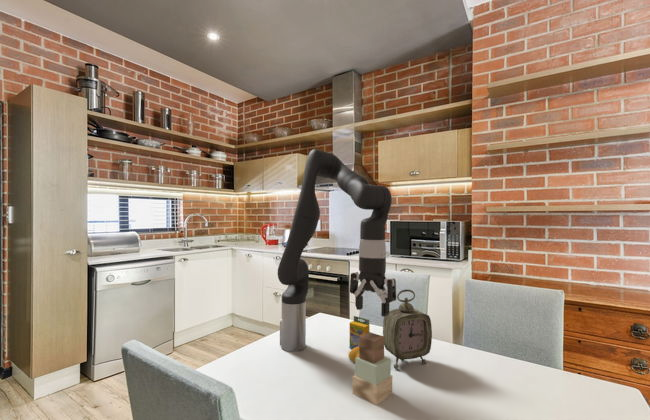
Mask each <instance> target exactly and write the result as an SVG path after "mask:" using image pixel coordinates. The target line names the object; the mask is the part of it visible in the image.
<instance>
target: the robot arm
mask: <svg viewBox="0 0 650 420" xmlns="http://www.w3.org/2000/svg"><path fill="white" fill-rule="evenodd" d="M304 165H305V166H304V171H303V177H302V182H301V183H302V184H301V188H300V193H299V196H298V200H297V204H296V207H295V211H294V215H293V219H292V223H291V227H290V229H289V230H290V231H289V234H288V238H287V241H286V246H285V247H284V250H283V253H282V254H281V255H282V256H281V259H280V261H279V264H278V267H277V278H278V280H279V282H280V283H281V284H282V285H283V286H287V287H286V289H285V290H284V291H283V293H282V294H281V319H280V321H279V346H280V347H281V349H282V350H284V351H287V352H297V351H301V350H304V349H305V348H306V345H307V344H306V336H307V335H306V333H307V331H306V330H307V329H306V327H307V325H306V318H307V317H306V316H307V314H306V313H307V311H306V308H307V307H306V306H307V305H306V304H307V303H306V302H307V301H306V299H307V295H308V292H309V279H310V275H309V274H310V272H309V271H310V270H309V266H308V263H307V262H306V261H305V260H304V259H302V258H301V257H302V254H303V252H304V250H305V247H306V246H307V245H308V243H310V241H311V239H312V238H313V236H314V235H315V233H316V230H317V227H318V224H319V219H320V216H321V209H320V205H319V202H318V199H317V195H316V181H317V179H318V177H320V178H324V179H330V180H334V181H336V183H337V186H338V187H339V189H340V190H341V191H343V192H344V193H345V194H346V195H348V196H349V197H350V198H351V200H352V202H353V203H354V205H355V206H356V207H358V208H360V209H362V210H366V211H367V210H369V211H370V210H372V212H371V215H370V217H369V216H368V217H366V218H363V219H362V220H361V221H360V225H359V226H360V230H359V234H360V235H359V239H360V240H359V247H358V248H359V249H358V271H359V272H358V271H357V272H352V273H350V278H349V279H350V281H349V282H350V283H349V293H350V294H353V295H354V296H355V301H354V302H355V303H354V305H355V307H356V310H358V311H361V310H362V309H363V308H364V293H365V292H371V293H376V295H377V296H378V297H379V298H380V300H381V309H380V311H381V312H380V313H381V317H382V318H384V317H385V316H387V315H388V314H389V311H390V303H392V302H395V301H396V300H397V286H396V278H387V277H386V272H387V268H386V267H387V265H386V264H387V246H386V224H387V221H388V216H389V214H390V210H391V206H392V202H393V199H392V197H393V196H392V194H391V191H390V189H389V188H388V187H387V186H386V185H379V184H378V185H377V184H370V182H369V181H368V179H366V178H365V176H363V175H361V174H359V173H357V172H356V171H354V170H352V169H350V168H349V167H348V166H347V165H345V164H344V163H343V161H342V160H341V159H340V158H339V157H338V156H336V155H335V154H334V153H331V152H328V151H324V150H321V149H318V148H317V149H316V148H314V149H312V150H310V151H309V153H308V155H307V157H306V161H305V164H304ZM359 282H360V284H359Z"/></svg>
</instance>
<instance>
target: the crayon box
mask: <svg viewBox="0 0 650 420" xmlns="http://www.w3.org/2000/svg"><path fill="white" fill-rule="evenodd" d="M361 320H362V321H361ZM369 332H370V319H368V318H363V317H360V316H356V315H353V321H350V322H349V349H351V350H352V349H353V348H355V347H359V337H360V336H362V335H365V334H367V333H369Z"/></svg>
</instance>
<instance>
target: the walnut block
mask: <svg viewBox="0 0 650 420" xmlns="http://www.w3.org/2000/svg"><path fill="white" fill-rule="evenodd" d="M384 356H385V346H384V336H383V335H380V334H377V333H374V332H370V331H369V333H367V334H365V335H362V336H360V337H359V358H360V359H363V360H365V361H368V362H371V363H373V364H375V363H376V362H378V361H380V360H381V359H383V358H384Z"/></svg>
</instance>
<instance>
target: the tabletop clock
mask: <svg viewBox="0 0 650 420" xmlns="http://www.w3.org/2000/svg"><path fill="white" fill-rule="evenodd" d="M404 292H405V293H406V292H410V293H412V295H413V296H412V297H411V298H410V299H408V297H405V298H404V299H400V298H399V296H400V295H401V294H402V293H404ZM415 297H416V293H415V292H414V291H413V290H411V289H401V290H400V291H399V292H398V293H397V294H396V300H398V301H399V302H401V303H400V304H399V306H398V308H396V309H391V310H390V309H389V314H388V315H387V316H385V317H383V323H382V336H384V349H385V350H387V352H389V353H390V354H391V355H392V356H394V357H395V363H394V364H393V368H394V369H395V370H399V364H398V363H399V360H400V361H401V362H404V361H405V360H414V359H418V358H419V359H421V364H422V365H426V364H427V360H426V359H425V358H423V357H425V356H427V355H429V354H430V352H431V348H432V342H433V341H432V339H433V338H432V337H433V331H432V329H433V328H432V327H433V326H432V320H431V317H430V315H429V314H426V313H424V312H422V311H420V310H418V309H416V308H414V306H413V304H411V303H410V302H412V301H413V300H415Z"/></svg>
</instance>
